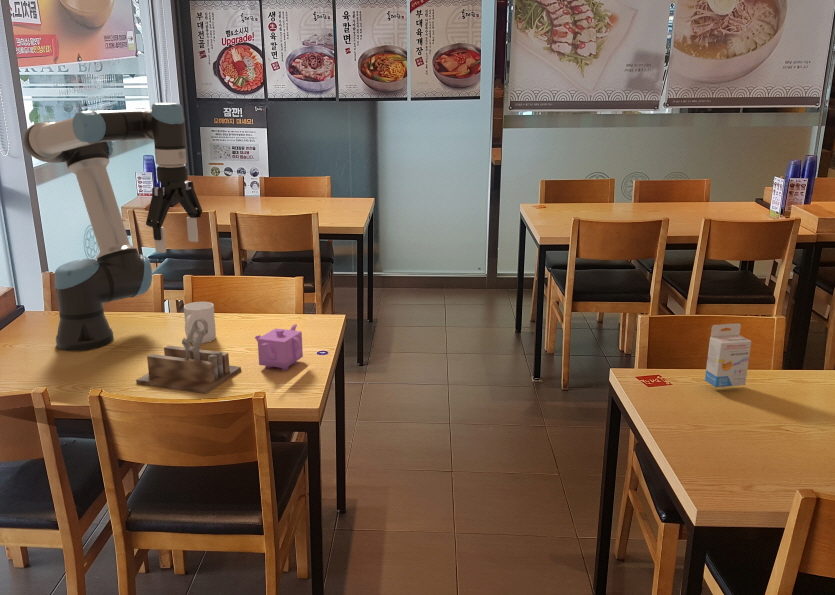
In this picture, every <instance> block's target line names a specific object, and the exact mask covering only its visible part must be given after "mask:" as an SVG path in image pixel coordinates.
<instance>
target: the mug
mask: <svg viewBox="0 0 835 595" xmlns="http://www.w3.org/2000/svg"><path fill="white" fill-rule="evenodd" d="M183 311H184V314H183V315H184V332H185V336H186V337H185V338H187V337H188V335H189V333H190V331H191V329H192V326H193V323H194V321H195V320H197V319H199V318H203V319H205V320H206V321H207V323H208V333H207V334H206V335H204V337H203V340H202V342H201V344H207V343H211V342H213V341H214V340H215V339H216V338H217V336H216V335H217V333H216V332H217V330H216V320H215V306H214V303H212V302H209V301H195V302H189V303H186V304H184V305H183ZM197 326H198V328H199V329H201V330H204V325H203V323H202V322H200V321H198V322H197ZM197 337H198V333H196V332H194V335H193V339H195V340H196V338H197ZM190 343H191V342H189V344H190ZM191 344H192V343H191Z"/></svg>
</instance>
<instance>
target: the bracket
mask: <svg viewBox="0 0 835 595" xmlns="http://www.w3.org/2000/svg"><path fill="white" fill-rule="evenodd" d="M198 321H200V322H202V323H203V325H204V330H201V329H199V328H198V326H197V322H198ZM194 332H196V333H198V337H197V338H196V340H195V339H193V335H194ZM207 333H208V323H207V321H206V320H205V319H203V318H199V319H197V320H195V321H194V323H193V326H192V329H191V331H190V333H189V335H188V337H183V338H182V341H181V345H182V346H183V347H185V352H186V359H191V358H190V351H193V356H194V360H200V353H199V349H200V346H201V344H202V343H201V342H202V340H203V337H204V335H206V334H207ZM190 342H191V344H192V345H191V344H190Z"/></svg>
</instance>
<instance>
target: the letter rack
mask: <svg viewBox="0 0 835 595" xmlns="http://www.w3.org/2000/svg"><path fill="white" fill-rule="evenodd" d="M163 352H164V355H161V354H154V353H151V354H149V355H147V356H146V358H147V359H146V360H147V369H148V372H147V373H146V374H144V375H142V376H140V377H138V378H137V379H136V380H135V381H136V382H135V384H138V385H143V386H144V385H145V386H152V387H156V388H157V387H158V388H165V389H171V390H178V391H185V392H193V393H197V394H198V393H199V394H207V393H209V392H211V391H212V390H214V389H215V388H217V387H218V386H220V385H221V384H223V383H224V382H226V381H227V380H229V379H230V378H232V377H233V376H235V375H237V374H238V373H239V372H241V371H242V368H241V366H238V365H237V366H236V365H230V358H229V352H224V351H223V352H222V351H215V350H208V349H207V350H206V349H202V348H201V349H200V348H199V353H200V360H194V356H193V351H190V358H191V359H186V352H185V347H184V346H183V347H182V346H175V345H166V346H164V347H163Z"/></svg>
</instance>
